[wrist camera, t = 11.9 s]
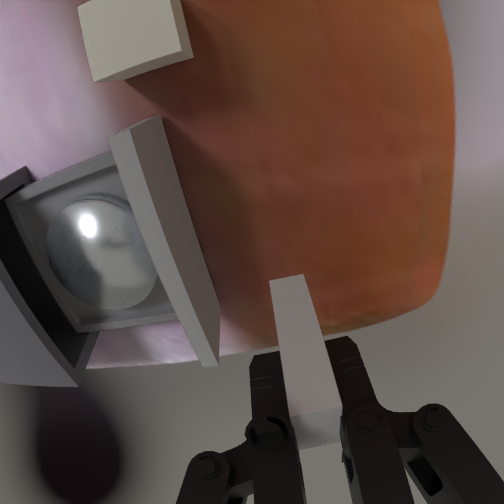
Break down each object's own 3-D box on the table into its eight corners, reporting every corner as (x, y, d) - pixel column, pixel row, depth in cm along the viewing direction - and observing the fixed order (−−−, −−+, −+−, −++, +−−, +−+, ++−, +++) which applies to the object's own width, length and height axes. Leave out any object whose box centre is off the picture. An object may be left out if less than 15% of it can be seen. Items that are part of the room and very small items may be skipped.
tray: (13, 174, 19) (-36, 208, 14) (160, 114, 19) (129, 129, 13) (90, 326, 28) (70, 376, 22) (220, 306, 27) (218, 365, 21)
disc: (137, 176, 19) (128, 185, 18) (178, 285, 24) (175, 300, 22) (39, 211, 20) (28, 222, 18) (86, 302, 24) (79, 316, 23)
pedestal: (109, 19, 15) (77, 7, 10) (179, -6, 14) (163, -28, 10) (123, 80, 17) (93, 82, 13) (193, 57, 17) (181, 50, 13)
